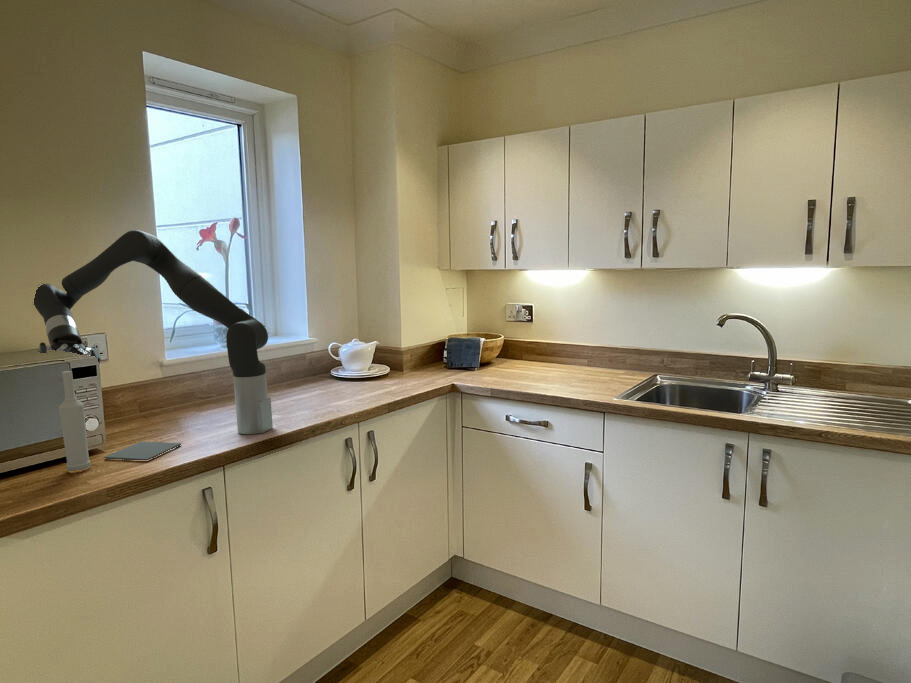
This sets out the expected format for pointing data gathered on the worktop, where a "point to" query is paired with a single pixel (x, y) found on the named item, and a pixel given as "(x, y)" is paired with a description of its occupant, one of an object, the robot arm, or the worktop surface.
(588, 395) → the worktop surface
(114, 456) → the charcoal mat
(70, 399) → the bottle
